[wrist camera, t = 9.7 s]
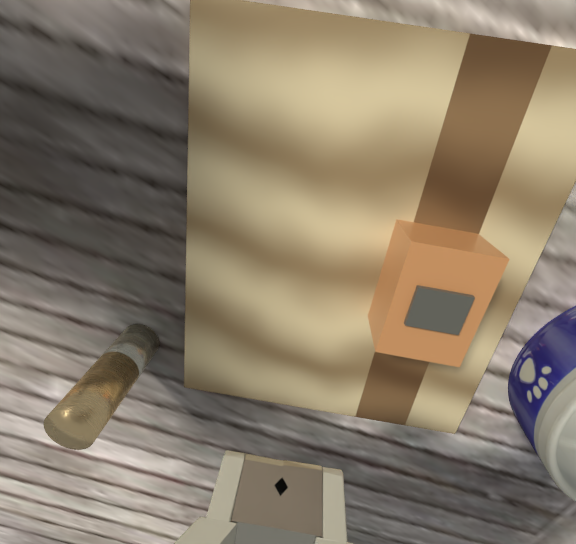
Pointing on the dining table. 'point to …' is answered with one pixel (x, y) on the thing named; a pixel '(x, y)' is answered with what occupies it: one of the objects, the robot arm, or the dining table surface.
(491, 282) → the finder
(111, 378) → the amber glass vial
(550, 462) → the dog bowl
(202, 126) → the panel
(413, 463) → the dining table surface
